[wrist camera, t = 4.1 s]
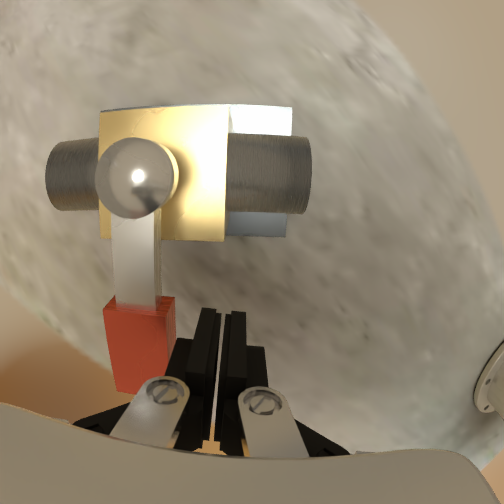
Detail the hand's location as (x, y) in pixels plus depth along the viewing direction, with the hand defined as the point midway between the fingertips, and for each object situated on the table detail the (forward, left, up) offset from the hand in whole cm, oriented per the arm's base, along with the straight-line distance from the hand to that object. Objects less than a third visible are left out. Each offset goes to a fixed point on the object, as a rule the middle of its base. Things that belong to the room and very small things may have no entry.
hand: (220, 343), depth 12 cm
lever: (+3, -3, 0) cm, 4 cm away
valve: (+3, -6, -10) cm, 12 cm away
